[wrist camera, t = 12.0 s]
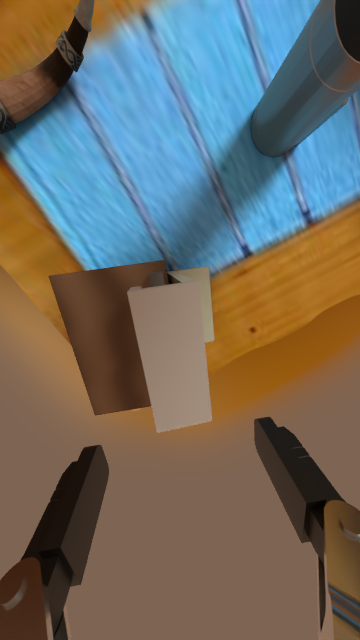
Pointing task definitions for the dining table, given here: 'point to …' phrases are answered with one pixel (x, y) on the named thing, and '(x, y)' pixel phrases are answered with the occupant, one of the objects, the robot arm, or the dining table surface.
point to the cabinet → (107, 331)
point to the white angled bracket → (175, 346)
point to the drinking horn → (46, 72)
